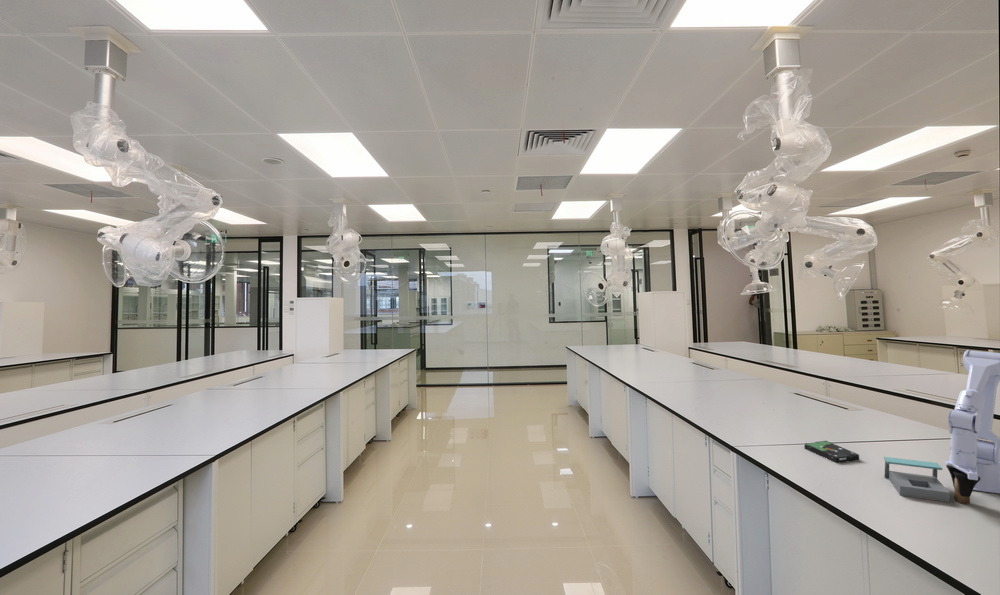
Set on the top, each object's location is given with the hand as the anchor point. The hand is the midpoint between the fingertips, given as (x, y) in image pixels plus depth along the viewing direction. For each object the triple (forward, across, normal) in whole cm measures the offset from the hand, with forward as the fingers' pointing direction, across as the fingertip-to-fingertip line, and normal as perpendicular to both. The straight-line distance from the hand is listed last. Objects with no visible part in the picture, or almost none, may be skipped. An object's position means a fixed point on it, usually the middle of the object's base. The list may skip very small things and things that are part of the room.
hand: (962, 493), depth 146 cm
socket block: (+3, -4, -10) cm, 11 cm away
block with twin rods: (+3, -10, -10) cm, 14 cm away
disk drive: (+3, -28, -29) cm, 41 cm away
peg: (+3, 0, 0) cm, 3 cm away
